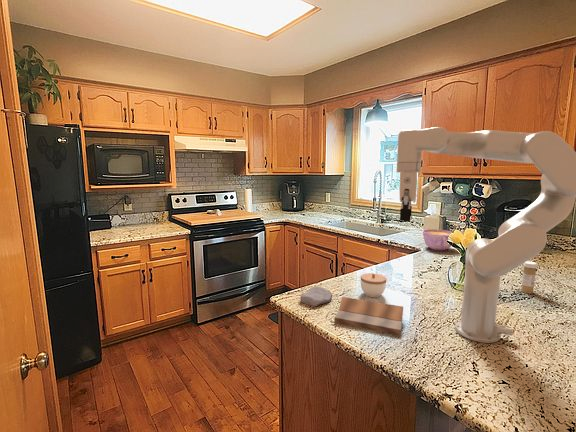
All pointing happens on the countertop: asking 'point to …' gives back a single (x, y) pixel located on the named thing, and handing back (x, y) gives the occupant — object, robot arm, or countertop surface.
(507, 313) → the countertop surface
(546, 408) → the countertop surface
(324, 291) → the stone block
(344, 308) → the chestnut plank
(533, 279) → the sprinkles bottle
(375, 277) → the lidded jar
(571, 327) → the countertop surface
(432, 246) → the bowl of food
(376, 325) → the walnut board
